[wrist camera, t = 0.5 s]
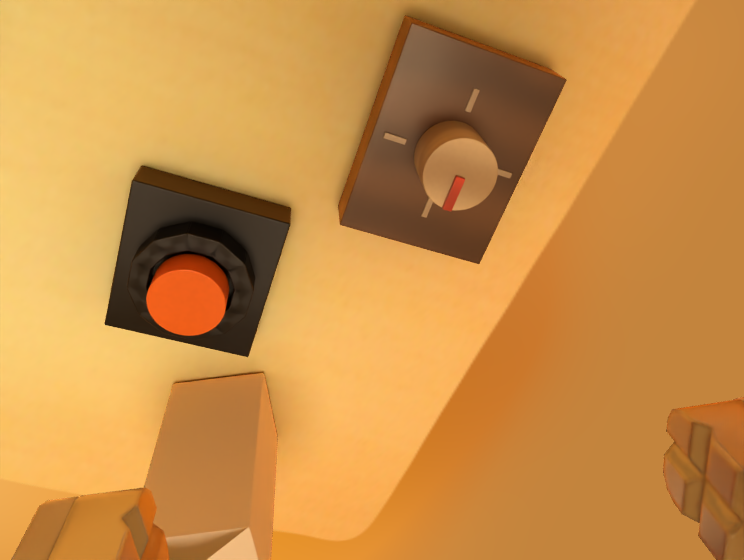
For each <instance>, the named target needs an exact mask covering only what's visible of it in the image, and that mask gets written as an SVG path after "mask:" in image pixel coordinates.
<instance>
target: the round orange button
mask: <svg viewBox="0 0 744 560" xmlns="http://www.w3.org/2000/svg"><path fill="white" fill-rule="evenodd" d="M228 295H229V283H228V279H227V277H226V275H225V273H224V271H223V270H222V269H221V268H220V267H219V266H218V265H217V264H216V263H215V262H213V261H212V260H210V259H208V258H206V257H203V256H200V255H195V254H181V255H177V256H174V257H171V258H169V259H167V260H166V261H164V262H163V263H162V264H161V265H160V266H159V267H158V269H157V270H156V272H155V275H154V277H153V279H152V282H151V284H150V287H149V289H148V292H147V297H146V302H147V307H148V310H149V313H150V315H151V316H152V318H153V319H154V320H155V321H156V322H157V323H158V324H159V325H160V326H161V327H163V328H164V329H166V330H168V331H170V332H172V333H175V334H179V335H186V336H193V335H199V334H203V333H206V332H208V331H210V330H212V329H213V328H214V327H216V326H217V325H218V324H219V323H220V321H221V320H222V318H223V316H224V314H225V310H226V305H227V300H228Z"/></svg>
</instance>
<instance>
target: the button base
mask: <svg viewBox="0 0 744 560" xmlns="http://www.w3.org/2000/svg"><path fill="white" fill-rule="evenodd" d="M290 219H291V208H289V207H285V206H282V205H278V204H275V203H271V202H268V201H264V200H261V199H257V198H254V197H250V196H247V195H243V194H240V193H236V192H233V191H229V190H226V189H222V188H219V187H215V186H212V185H208V184H205V183H201V182H198V181H194V180H191V179H187V178H183V177H180V176H176V175H173V174H169V173H166V172H162V171H159V170H155V169H152V168H148V167H145V166H141V167H140V169H139V171H138V172H137V174H136V175H135V177H134V178H133V180H132V184H131V189H130V194H129V199H128V204H127V210H126V215H125V220H124V225H123V231H122V236H121V241H120V246H119V251H118V257H117V262H116V267H115V272H114V278H113V283H112V288H111V293H110V299H109V304H108V309H107V314H106V319H105V325H108V326H113V327H117V328H122V329H126V330H131V331H135V332H139V333H144V334H148V335H153V336H157V337H162V338H166V339H170V340H175V341H179V342H184V343H188V344H192V345H197V346H201V347H206V348H210V349H215V350H219V351H223V352H228V353H232V354H237V355H241V356H246V357H248V356H249V353H250V350H251V347H252V343H253V340H254V337H255V334H256V331H257V328H258V324H259V321H260V318H261V315H262V312H263V309H264V306H265V302H266V299H267V296H268V293H269V290H270V287H271V284H272V280H273V277H274V274H275V271H276V268H277V265H278V262H279V258H280V255H281V252H282V249H283V246H284V243H285V240H286V236H287V233H288V230H289V227H290ZM181 254H195V255H200V256H203V257H206V258H208V259H210V260H212V261H213V262H215V263H216V264H217V265H218V266H219V267H220V268H221V269H222V270H223V271H224V273H225V275H226V277H227V279H228V283H229V295H228V300H227V305H226V310H225V314H224V316H223V318H222V320H221V321H220V323H219V324H218V325H217V326H216V327H214V328H213V329H212V330H210V331H208V332H206V333H203V334H199V335H193V336H186V335H179V334H175V333H172V332H170V331H168V330H166V329H164V328H163V327H161V326H160V325H159V324H158V323H157V322H156V321H155V320H154V319H153V318H152V316H151V315H150V313H149V310H148V307H147V302H146V297H147V292H148V289H149V287H150V284H151V282H152V279H153V277H154V275H155V272H156V270H157V269H158V267H159V266H160V265H161V264H162V263H163V262H164V261H166V260H167V259H169V258H171V257H174V256H177V255H181Z"/></svg>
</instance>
